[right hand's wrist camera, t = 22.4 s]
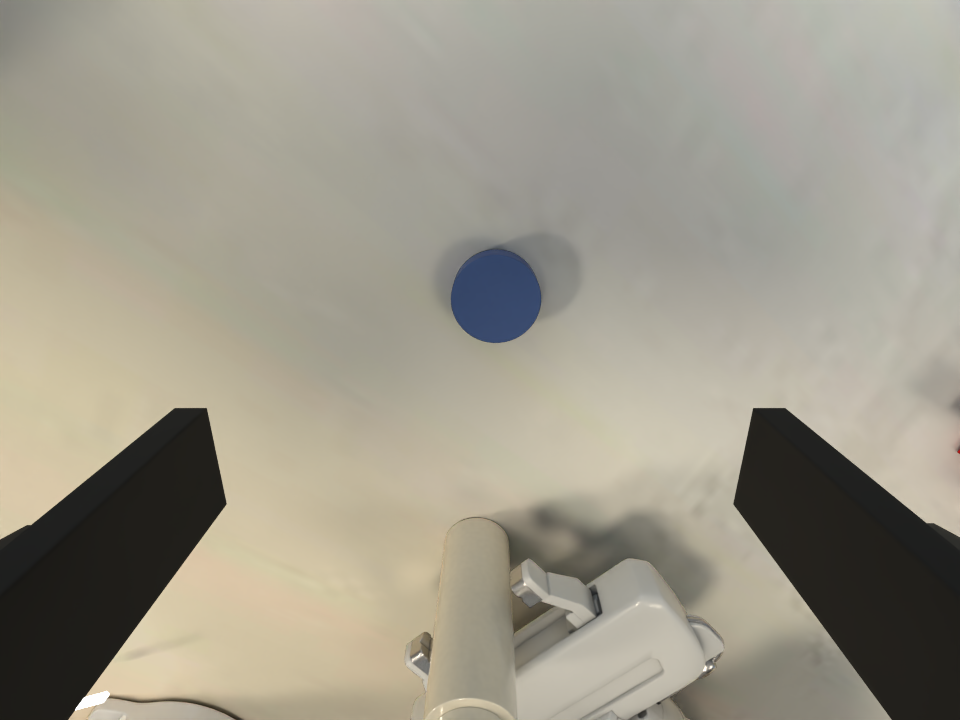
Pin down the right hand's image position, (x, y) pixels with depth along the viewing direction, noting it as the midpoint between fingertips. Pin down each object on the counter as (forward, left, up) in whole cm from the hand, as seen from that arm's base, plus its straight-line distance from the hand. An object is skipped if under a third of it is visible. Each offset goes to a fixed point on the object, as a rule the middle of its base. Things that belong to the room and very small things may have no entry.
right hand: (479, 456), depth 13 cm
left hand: (-4, -18, -13) cm, 23 cm away
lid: (+1, -1, -18) cm, 18 cm away
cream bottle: (-3, -19, -20) cm, 28 cm away
